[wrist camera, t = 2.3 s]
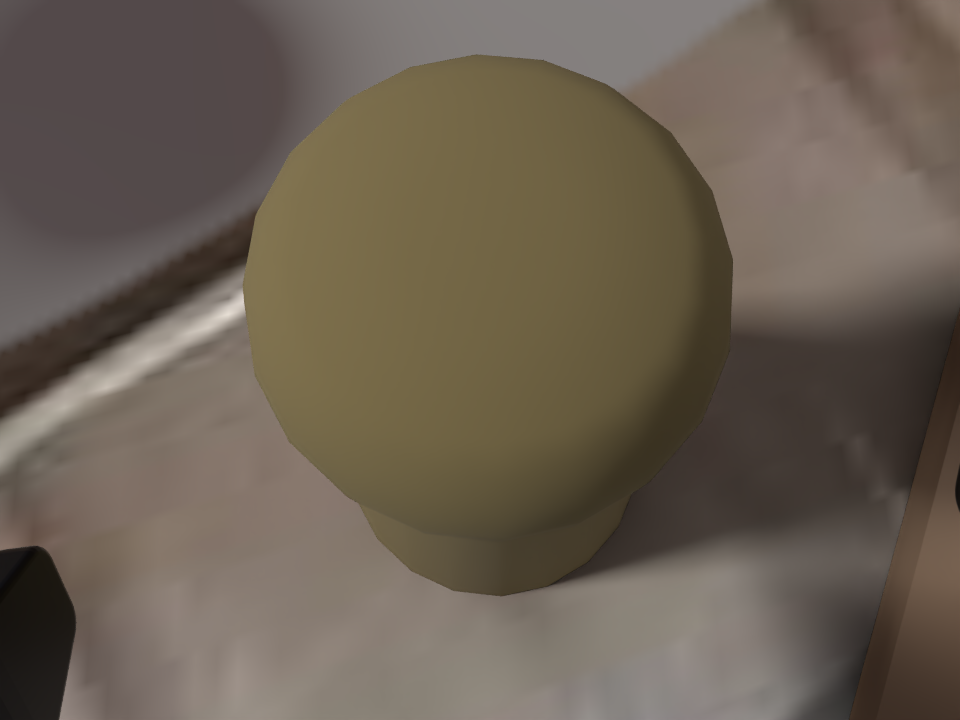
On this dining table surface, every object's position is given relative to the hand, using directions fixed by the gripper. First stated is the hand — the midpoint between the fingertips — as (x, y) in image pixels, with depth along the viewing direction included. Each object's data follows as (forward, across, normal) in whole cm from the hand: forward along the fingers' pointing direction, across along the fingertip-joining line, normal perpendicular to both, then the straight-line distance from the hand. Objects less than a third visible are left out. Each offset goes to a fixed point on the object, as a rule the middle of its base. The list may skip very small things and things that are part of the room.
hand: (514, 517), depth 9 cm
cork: (+9, 0, +5) cm, 10 cm away
